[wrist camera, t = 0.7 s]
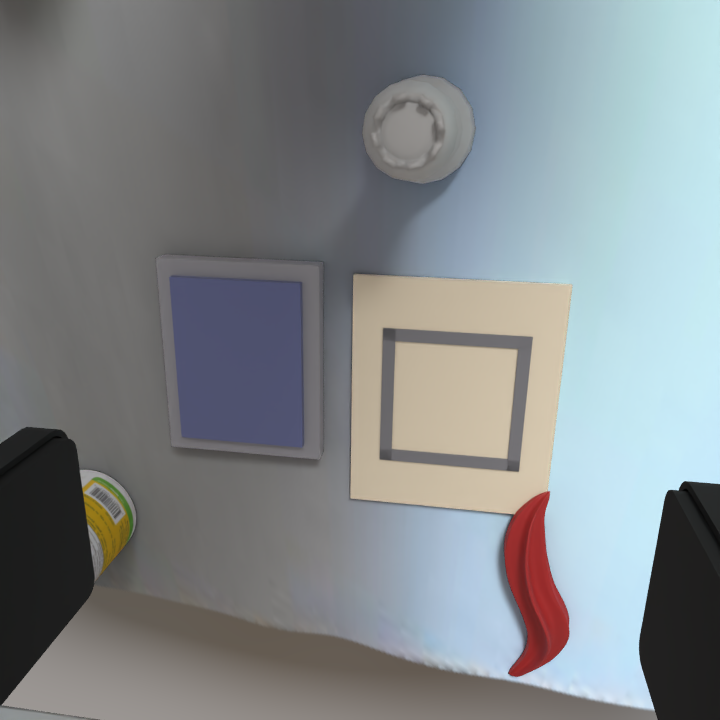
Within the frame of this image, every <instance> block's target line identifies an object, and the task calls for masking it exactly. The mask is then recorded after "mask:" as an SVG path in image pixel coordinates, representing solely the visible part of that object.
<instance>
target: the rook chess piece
mask: <svg viewBox="0 0 720 720" xmlns="http://www.w3.org/2000/svg"><path fill="white" fill-rule="evenodd" d="M475 130H476V127H475V122H474V116H473V110H472V107H471V105H470V103H469V102H468V100H467V99H466V97H465V96H464V94H463V92H462V91H461V89H459V88H458V87H456V86H455V85H453V84H452V83H450V82H449V81H447V80H446V79H444V78H441V77H435V76H429V75H419V76H415V77H411V78H407V79H404V80H401V81H400V82H398V83H395V84H391V85H389V86H388V87H387V88H385V89H384V90H383V91H382V92H380V93H379V94H378V95H376V96H375V98H374V99H373V101H372V103H371V104H370V106H369V108H368V110H367V111H366V113H365V118H364V124H363V131H362V135H363V140H364V144H365V149H366V153H367V154H368V156H369V157H370V159H371V160H372V162H373V163H374V164H375V166H376V167H377V168H378V169H379V170H381V171H382V172H384V173H385V174H387V175H388V176H390V177H391V178H395V179H400V180H404V181H409V182H415V183H420V184H425V183H429V182H434V181H438V180H443V179H444V178H446V177H447V176H448V175H450V174H451V173H453V172H454V171H456V170H457V169H458V168H460V166H461V165H462V163H463V162H464V160H465V159H466V157H467V156H468V154H469V153H470V151H471V149H472V144H473V139H474V134H475Z"/></svg>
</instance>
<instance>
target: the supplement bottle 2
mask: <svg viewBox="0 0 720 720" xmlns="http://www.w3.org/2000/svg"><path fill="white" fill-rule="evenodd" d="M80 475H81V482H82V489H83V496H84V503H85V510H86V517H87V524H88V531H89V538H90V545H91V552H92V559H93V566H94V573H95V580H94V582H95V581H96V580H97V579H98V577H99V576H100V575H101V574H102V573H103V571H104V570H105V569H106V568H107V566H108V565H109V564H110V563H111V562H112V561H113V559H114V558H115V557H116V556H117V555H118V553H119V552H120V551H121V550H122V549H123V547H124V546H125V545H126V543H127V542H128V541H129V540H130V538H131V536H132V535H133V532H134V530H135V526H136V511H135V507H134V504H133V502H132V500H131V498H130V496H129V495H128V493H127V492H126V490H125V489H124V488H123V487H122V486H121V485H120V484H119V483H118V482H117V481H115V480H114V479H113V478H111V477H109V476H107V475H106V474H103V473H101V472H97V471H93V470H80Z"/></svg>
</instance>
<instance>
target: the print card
mask: <svg viewBox="0 0 720 720" xmlns="http://www.w3.org/2000/svg"><path fill="white" fill-rule="evenodd" d="M571 293H572V284H556V283H535V282H515V281H494V280H474V279H453V278H433V277H412V276H392V275H371V274H354V275H353V338H352V418H351V497H350V498H351V499H362V500H372V501H382V502H393V503H403V504H413V505H423V506H434V507H444V508H454V509H465V510H475V511H485V512H495V513H506V514H515V513H516V512H517V511H518V510H519V509H520V508H521V507H522V506H523V505H524V504H525V503H527V502H528V501H529V500H530V499H532V498H533V497H535V496H536V495H539V494H541V493H544V492H548V483H549V475H550V467H551V459H552V450H553V442H554V434H555V425H556V417H557V409H558V401H559V392H560V384H561V376H562V368H563V359H564V351H565V343H566V334H567V326H568V318H569V310H570V301H571Z"/></svg>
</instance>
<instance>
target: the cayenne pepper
mask: <svg viewBox="0 0 720 720" xmlns="http://www.w3.org/2000/svg"><path fill="white" fill-rule="evenodd" d="M549 496H550V491H548V492H544V493H541V494H539V495H536V496H535V497H533V498H532V499H530V500H529V501H528V502H527V503H525V504H524V505H523V506H522V507H521V508H520V509H519V510H518V511H517V512H516V513H515V515H514V516H513V518H512V520H511V522H510V524H509V526H508V529H507V532H506V535H505V541H504V556H505V567H506V573H507V578H508V582H509V585H510V588H511V591H512V593H513V595H514V598H515V600H516V602H517V604H518V607H519V609H520V611H521V614H522V616H523V619H524V622H525V625H526V628H527V633H528V636H527V643H526V647H525V649H524V651H523V653H522V655H521V656H520V658H519V659H518V660H517V661H516V663H515V664H514V665H513V666H512V668H511V669H510V671H509V673H508V674H510V675H511V676H515V677H518V676H522V675H524V674H526V673H528V672H531V671H533V670H535V669H537V668H539V667H541V666H543V665H545V664H546V663H548V662H550V661H551V660H552V659H553V658H555V657H556V656H557V655H558V654H559V653H560V651H561V650H562V649H563V648H564V646H565V645H566V643H567V641H568V638H569V615H568V611H567V608H566V606H565V604H564V601H563V599H562V598H561V596H560V594H559V592H558V590H557V588H556V586H555V584H554V581H553V578H552V575H551V571H550V567H549V562H548V558H547V552H546V543H545V527H544V516H545V510H546V507H547V504H548V500H549Z"/></svg>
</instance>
